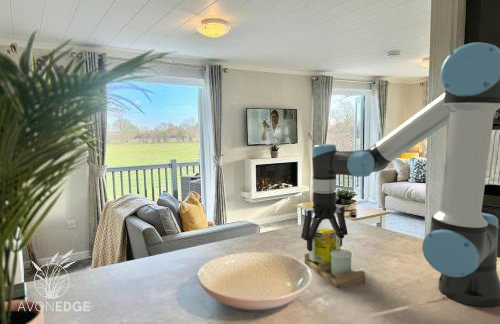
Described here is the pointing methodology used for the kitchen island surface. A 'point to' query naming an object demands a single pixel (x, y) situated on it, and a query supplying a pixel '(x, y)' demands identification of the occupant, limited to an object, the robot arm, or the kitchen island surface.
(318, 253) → the supplement box
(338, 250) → the pale green cylinder
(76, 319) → the kitchen island surface
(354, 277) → the caddy
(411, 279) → the kitchen island surface
